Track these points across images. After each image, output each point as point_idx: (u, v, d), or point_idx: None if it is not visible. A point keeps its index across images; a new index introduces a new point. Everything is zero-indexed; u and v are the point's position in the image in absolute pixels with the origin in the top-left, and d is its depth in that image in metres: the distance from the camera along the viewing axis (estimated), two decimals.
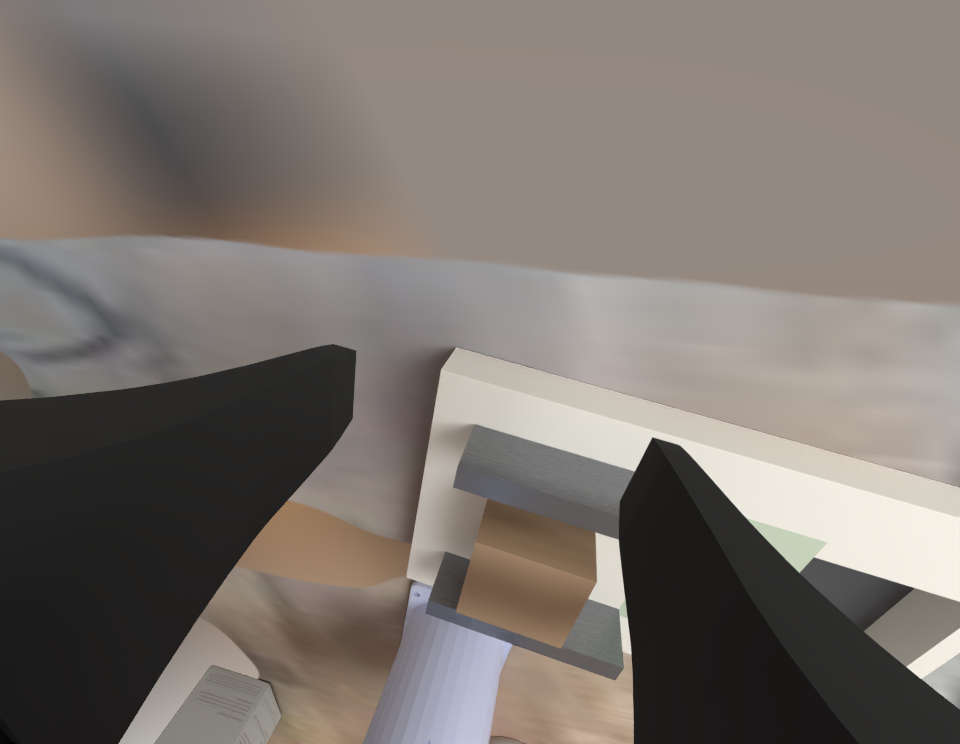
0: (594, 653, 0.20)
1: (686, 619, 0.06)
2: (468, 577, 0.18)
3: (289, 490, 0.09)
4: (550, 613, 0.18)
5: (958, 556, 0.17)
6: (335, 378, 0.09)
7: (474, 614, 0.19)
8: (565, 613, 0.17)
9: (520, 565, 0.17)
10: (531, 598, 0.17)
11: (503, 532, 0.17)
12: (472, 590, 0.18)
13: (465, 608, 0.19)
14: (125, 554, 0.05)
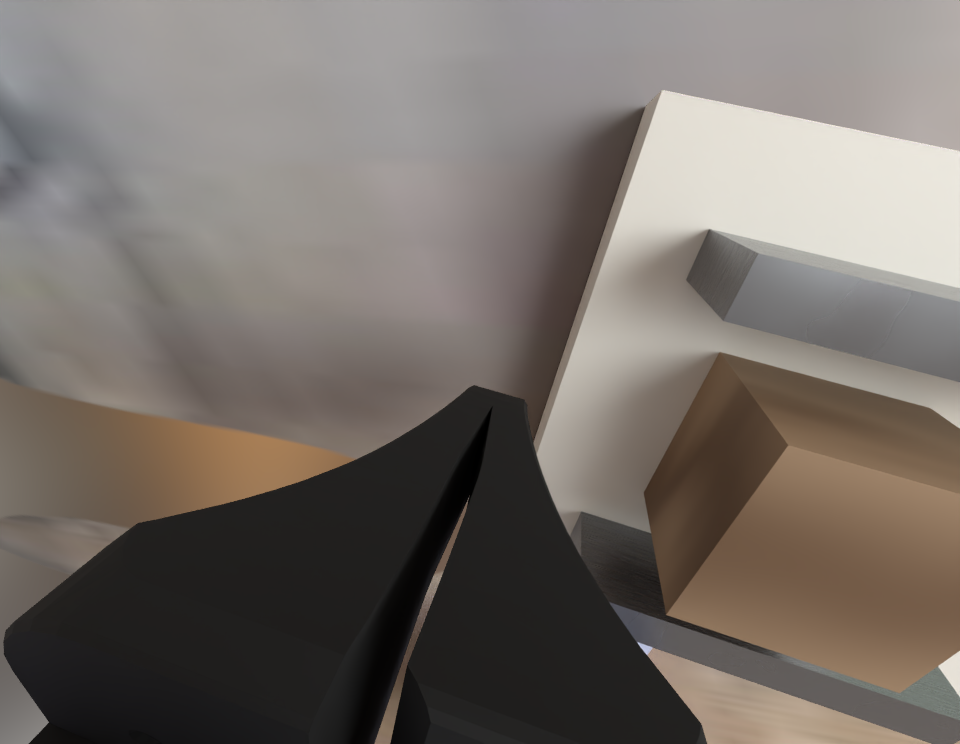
0: (913, 697, 0.10)
1: None
2: (730, 537, 0.08)
3: (446, 542, 0.08)
4: (915, 619, 0.08)
5: None
6: (487, 424, 0.09)
7: (710, 620, 0.09)
8: None
9: (895, 503, 0.07)
10: (881, 584, 0.08)
11: (824, 433, 0.08)
12: (729, 567, 0.08)
13: (693, 607, 0.09)
14: (388, 650, 0.05)
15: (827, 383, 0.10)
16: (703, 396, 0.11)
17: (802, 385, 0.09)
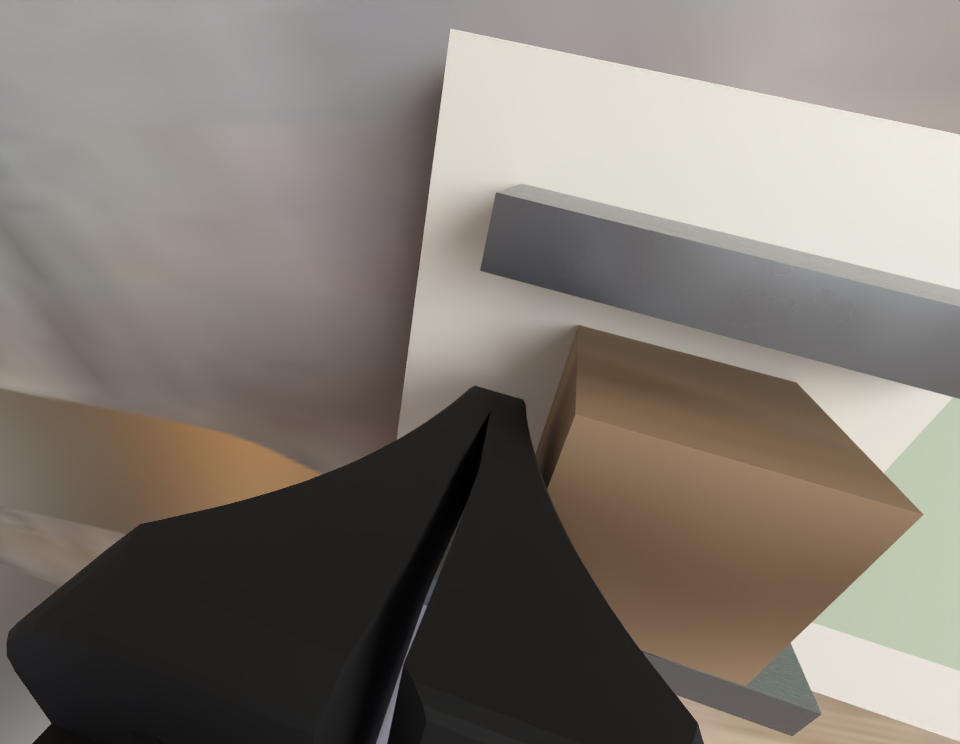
0: (755, 682, 0.10)
1: None
2: None
3: (447, 543, 0.08)
4: (742, 606, 0.07)
5: None
6: None
7: None
8: (787, 605, 0.07)
9: (693, 478, 0.06)
10: (701, 568, 0.07)
11: (634, 403, 0.07)
12: None
13: None
14: (390, 652, 0.05)
15: (687, 357, 0.09)
16: (564, 372, 0.10)
17: (652, 358, 0.09)
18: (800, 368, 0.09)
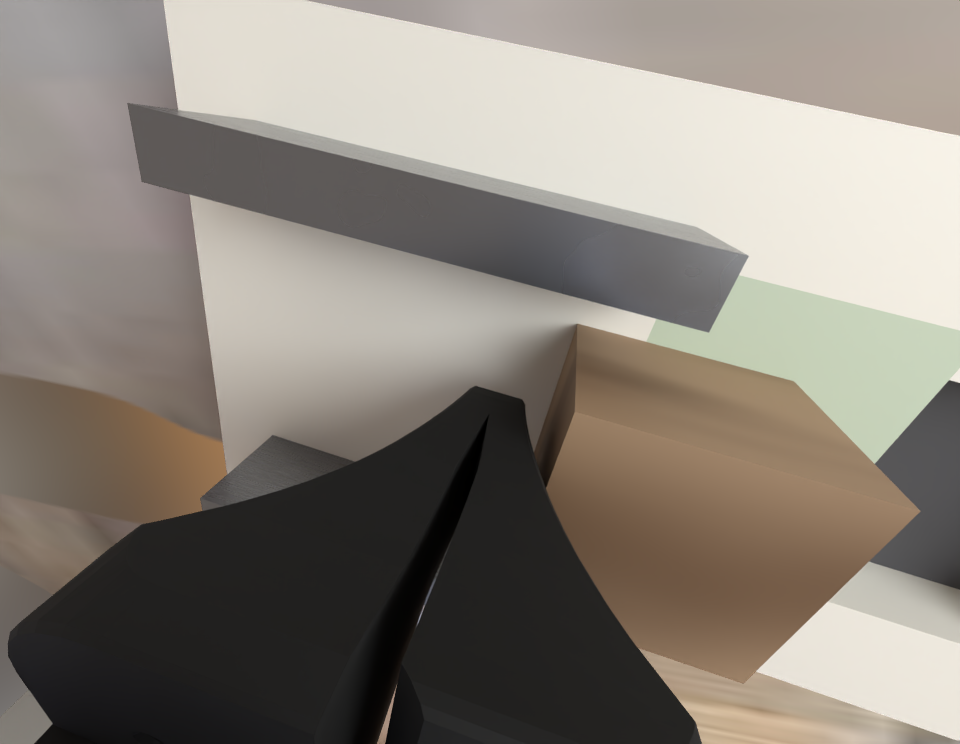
0: None
1: None
2: None
3: (448, 543, 0.08)
4: (741, 603, 0.07)
5: None
6: None
7: None
8: (785, 602, 0.07)
9: (693, 475, 0.06)
10: (700, 565, 0.07)
11: (633, 400, 0.07)
12: None
13: None
14: (391, 652, 0.05)
15: (685, 355, 0.09)
16: (562, 371, 0.10)
17: (651, 357, 0.09)
18: (526, 295, 0.10)
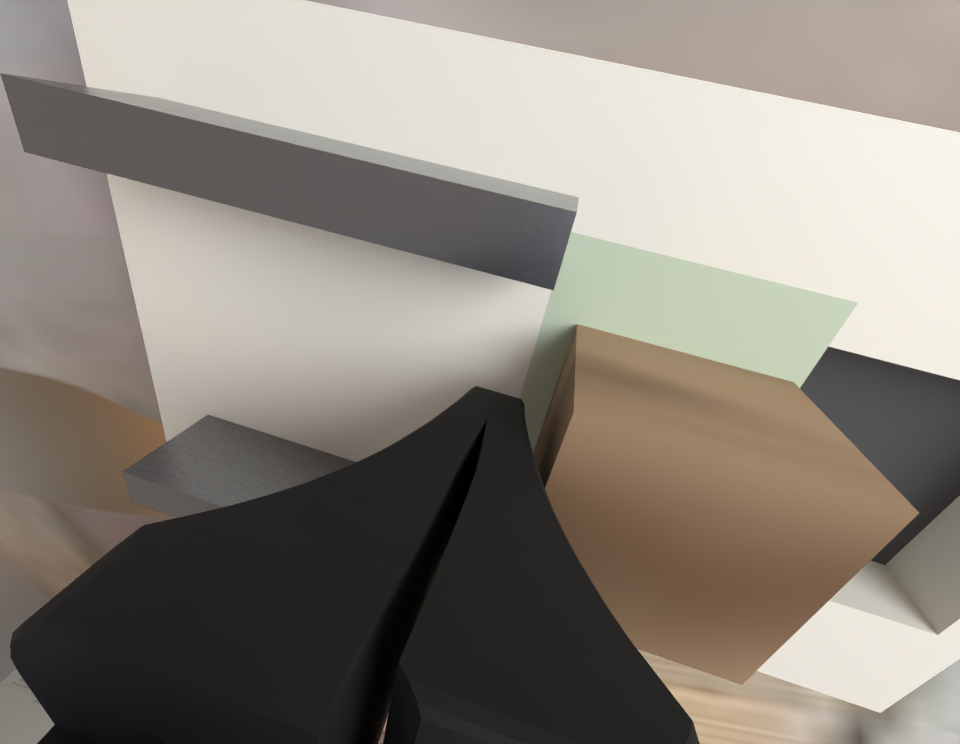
0: None
1: None
2: None
3: None
4: (739, 604, 0.07)
5: None
6: None
7: None
8: (784, 603, 0.07)
9: (692, 476, 0.06)
10: (699, 566, 0.07)
11: (633, 401, 0.07)
12: None
13: None
14: (392, 652, 0.05)
15: (685, 356, 0.09)
16: (562, 371, 0.10)
17: (650, 357, 0.09)
18: (428, 268, 0.10)
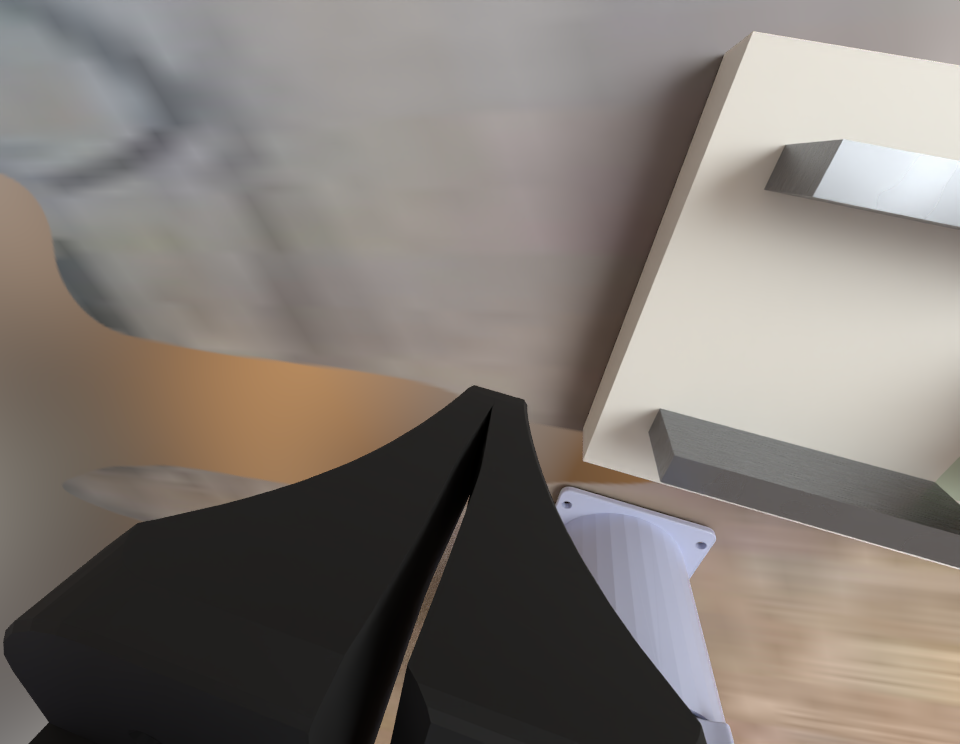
0: (952, 529, 0.13)
1: None
2: None
3: (446, 542, 0.08)
4: None
5: None
6: (487, 424, 0.09)
7: None
8: None
9: None
10: None
11: None
12: None
13: None
14: (388, 651, 0.05)
15: None
16: None
17: None
18: None
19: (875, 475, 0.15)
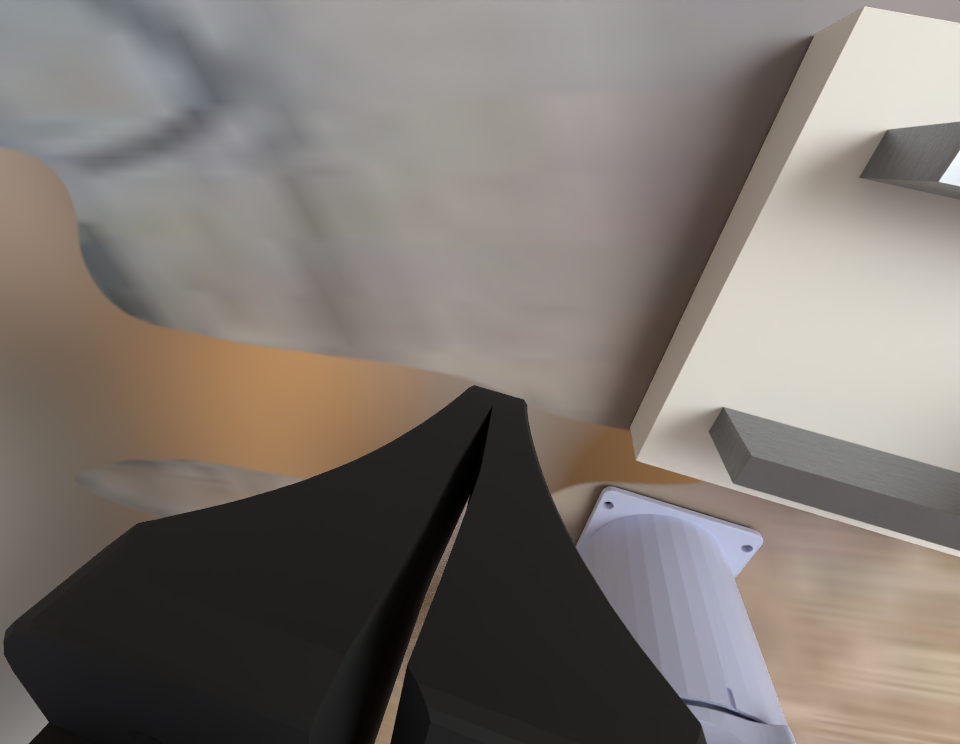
0: None
1: None
2: None
3: (446, 542, 0.08)
4: None
5: None
6: (487, 424, 0.09)
7: None
8: None
9: None
10: None
11: None
12: None
13: None
14: (388, 650, 0.05)
15: None
16: None
17: None
18: None
19: (951, 479, 0.14)
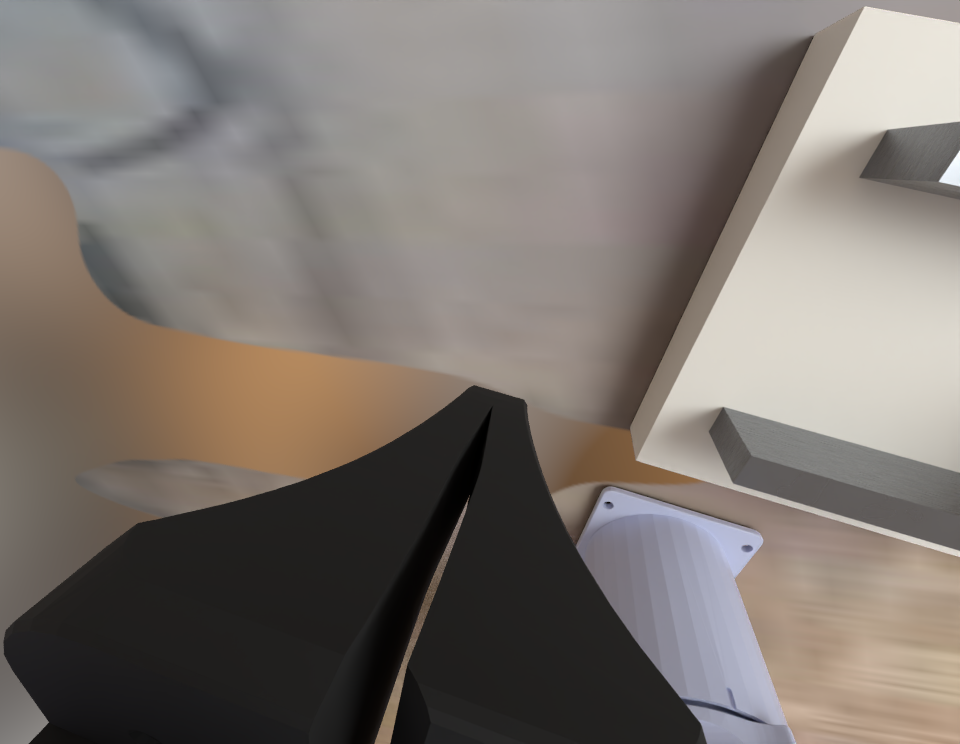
0: None
1: None
2: None
3: (446, 542, 0.08)
4: None
5: None
6: (487, 424, 0.09)
7: None
8: None
9: None
10: None
11: None
12: None
13: None
14: (388, 650, 0.05)
15: None
16: None
17: None
18: None
19: (951, 479, 0.14)
